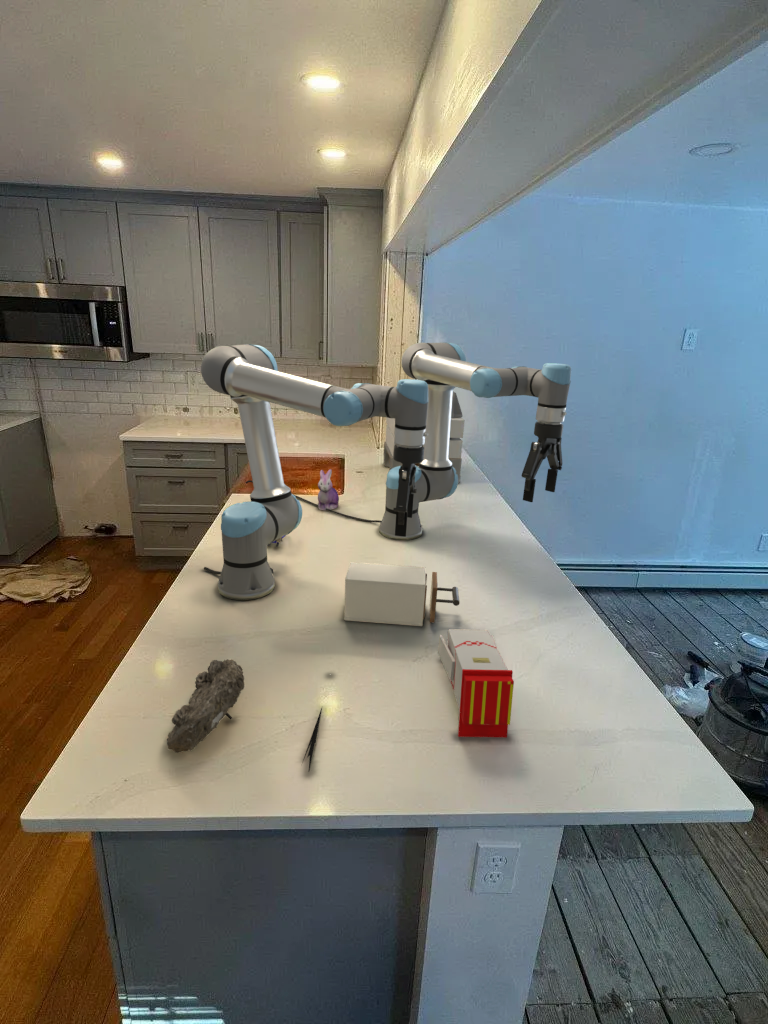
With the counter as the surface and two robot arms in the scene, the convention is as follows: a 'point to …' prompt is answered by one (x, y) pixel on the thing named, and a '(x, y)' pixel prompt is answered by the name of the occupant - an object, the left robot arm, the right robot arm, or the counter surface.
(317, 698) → the counter surface
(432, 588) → the drawer
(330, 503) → the figurine
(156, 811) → the counter surface
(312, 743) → the feather
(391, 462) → the transformer
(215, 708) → the fossil
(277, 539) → the figurine character
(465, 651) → the toy
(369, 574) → the cabinet
